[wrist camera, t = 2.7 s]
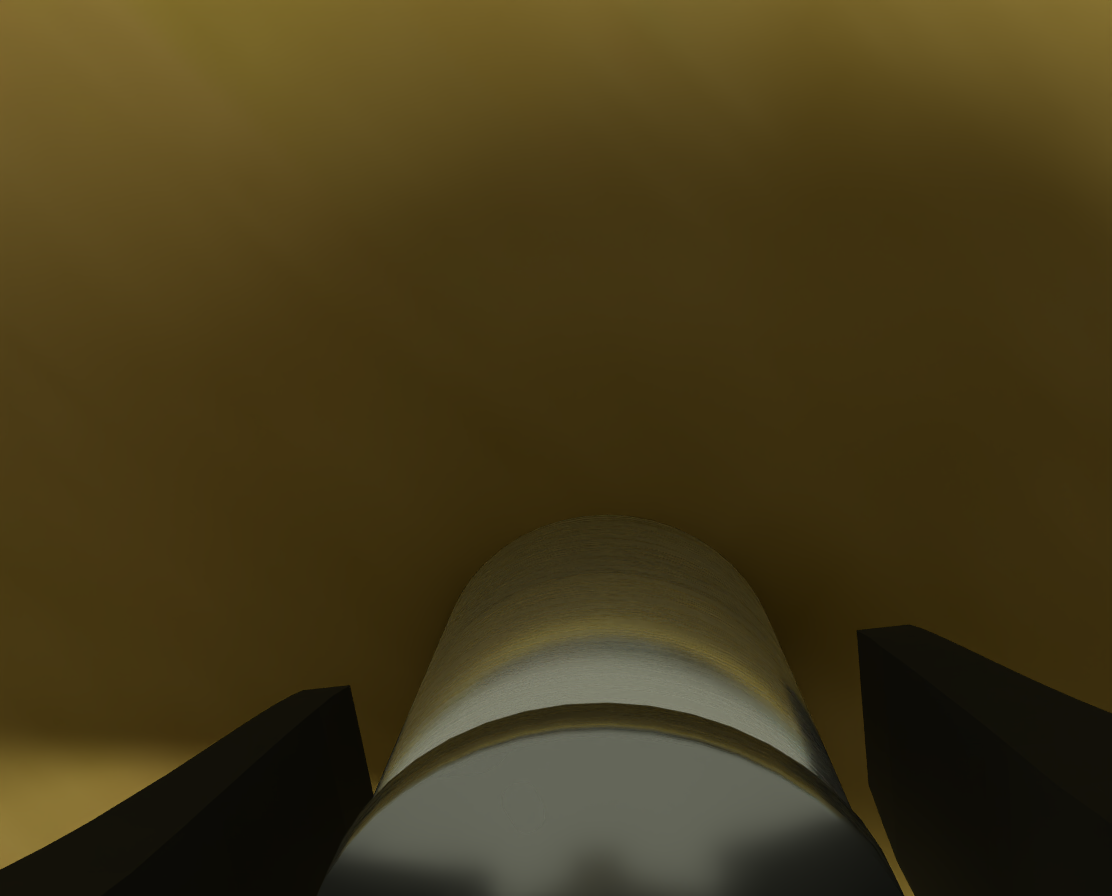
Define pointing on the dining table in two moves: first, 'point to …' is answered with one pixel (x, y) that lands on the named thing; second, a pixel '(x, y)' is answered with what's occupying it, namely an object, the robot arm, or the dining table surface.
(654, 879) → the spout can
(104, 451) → the dining table surface
